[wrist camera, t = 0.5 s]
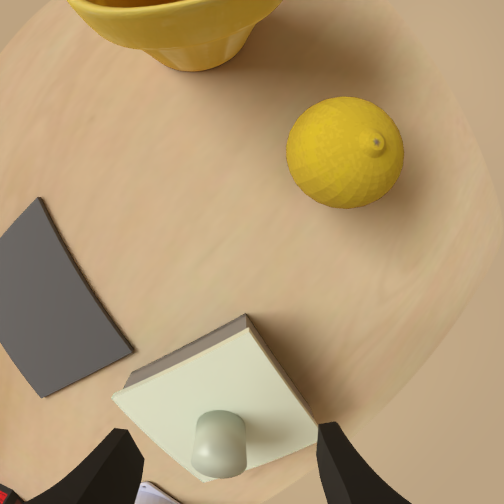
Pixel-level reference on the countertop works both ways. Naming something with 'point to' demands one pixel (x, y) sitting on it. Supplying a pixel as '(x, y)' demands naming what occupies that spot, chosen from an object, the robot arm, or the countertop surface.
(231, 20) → the plant pot
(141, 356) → the countertop surface
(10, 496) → the cleaning product box
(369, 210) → the countertop surface
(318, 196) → the lemon
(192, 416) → the lid
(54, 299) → the mat
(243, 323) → the storage box
